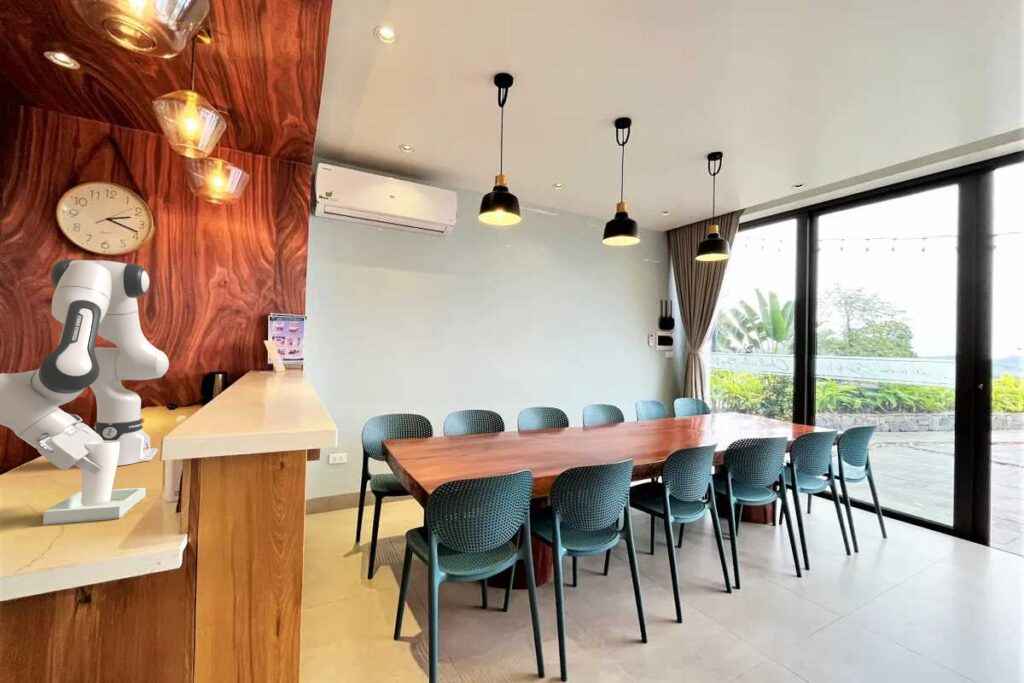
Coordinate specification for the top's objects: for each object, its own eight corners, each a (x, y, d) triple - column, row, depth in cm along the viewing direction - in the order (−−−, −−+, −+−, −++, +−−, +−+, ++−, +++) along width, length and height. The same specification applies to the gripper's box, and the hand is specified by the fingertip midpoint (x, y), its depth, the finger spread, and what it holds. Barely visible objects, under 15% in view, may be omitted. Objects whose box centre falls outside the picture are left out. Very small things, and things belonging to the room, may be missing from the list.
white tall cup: (113, 499, 112) (119, 440, 114) (115, 503, 108) (121, 442, 110) (76, 504, 108) (83, 442, 109) (76, 509, 103) (84, 444, 105)
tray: (79, 502, 113) (79, 491, 113) (145, 498, 118) (145, 487, 118) (43, 524, 100) (43, 511, 100) (119, 518, 105) (119, 506, 105)
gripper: (46, 428, 97) (103, 468, 101) (79, 414, 114) (126, 448, 119) (16, 450, 94) (75, 489, 99) (55, 432, 112) (103, 466, 117)
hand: (103, 467), depth 109 cm, fingers closed on white tall cup, 6 cm apart
